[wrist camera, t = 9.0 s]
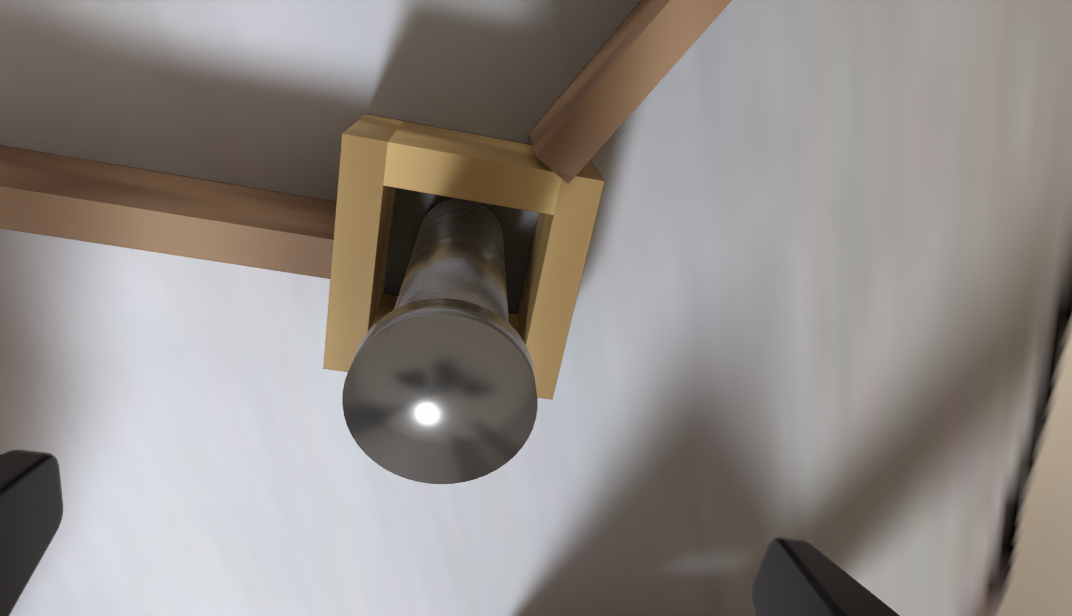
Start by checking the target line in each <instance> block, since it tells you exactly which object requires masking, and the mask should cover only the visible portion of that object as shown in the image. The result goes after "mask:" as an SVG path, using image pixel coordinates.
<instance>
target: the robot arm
mask: <svg viewBox="0 0 1072 616" xmlns="http://www.w3.org/2000/svg"><path fill="white" fill-rule="evenodd" d="M62 515H63V500H62V491H61V481H60V472H59V464H58V460H57V459H56V457H55V456H54V455H52V454H50V453H46V452H37V451H28V450H12V451H10V452H7V453H4V454H2V455H0V616H9V615H10V613H11V612H12V610H13V608H14V606H15V604H16V603H17V601H18V599H19V597H20V596H21V594H22V592H23V590H24V588H25V587H26V585H27V583H28V581H29V580H30V578H31V576H32V574H33V572H34V571H35V569H36V567H37V565H38V564H39V562H40V560H41V558H42V557H43V555H44V553H45V551H46V549H47V548H48V546H49V544H50V542H51V541H52V539H53V537H54V535H55V533H56V532H57V530H58V528H59V525H60V523H61V519H62ZM752 598H753V604H754V608H755V613H756V616H899V615H898V614H897V613H896V612H894V611H893V610H892V609H891V608H890V607H888V606H887V605H886V604H885V603H883V602H882V601H881V600H880V599H878V598H877V597H876V596H875V595H873V594H872V593H871V592H870V591H868V590H867V589H866V588H865V587H863V586H862V585H861V584H860V583H858V582H857V581H856V580H855V579H853V578H852V577H851V576H850V575H848V574H847V573H846V572H845V571H843V570H842V569H841V568H840V567H838V566H837V565H836V564H835V563H833V562H832V561H831V560H830V559H828V558H827V557H826V556H825V555H823V554H822V553H821V552H820V551H818V550H817V549H816V548H815V547H813V546H812V545H811V544H810V543H808V542H807V541H805V540H802V539H794V538H786V537H777V538H775V539H773V540H772V541H771V542H770V544H769V546H768V548H767V551H766V553H765V555H764V558H763V560H762V562H761V565H760V567H759V569H758V572H757V574H756V576H755V578H754V582H753V586H752Z"/></svg>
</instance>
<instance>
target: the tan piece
mask: <svg viewBox="0 0 1072 616" xmlns="http://www.w3.org/2000/svg"><path fill="white" fill-rule="evenodd" d="M731 1H732V0H641V2H640V3H639V4H638V5H637V6H636V8H635V9H634V10H633V11H632V12H631V14H630V15H629V16H628V17H627V18H626V19H625V21H624V22H623V23H622V24H621V25H620V27H619V28H618V29H617V30H616V31H615V32H614V34H613V35H612V36H611V37H610V38H609V40H608V41H607V42H606V43H605V44H604V46H603V47H602V48H601V49H600V50H599V51H598V53H597V54H596V55H595V56H594V57H593V59H592V60H591V61H590V62H589V63H588V64H587V66H586V67H585V68H584V69H583V70H582V72H581V73H580V74H579V75H578V76H577V78H576V79H575V80H574V81H573V82H572V83H571V85H570V86H569V87H568V88H567V89H566V91H565V92H564V93H563V94H562V95H561V96H560V98H559V99H558V100H557V101H556V102H555V104H554V105H553V106H552V107H551V108H550V110H549V111H548V112H547V113H546V114H545V115H544V117H543V118H542V119H541V120H540V121H539V123H538V124H537V125H536V126H535V127H534V128H533V130H532V131H531V132H530V133H529V136H530V139H531V142H532V145H528V144H523V143H517V142H512V141H507V140H501V139H496V138H491V137H485V136H480V135H475V134H469V133H464V132H459V131H453V130H448V129H443V128H437V127H432V126H427V125H421V124H416V123H411V122H405V121H400V120H395V119H389V118H384V117H379V116H373V115H368V114H364V115H363V116H362V117H361V118H360V119H359V120H357V121H356V122H355V123H354V124H353V125H352V126H350V127H349V128H348V129H347V130H346V131H345V132H343V133H342V142H341V155H340V167H339V180H338V192H337V202H332V201H326V200H320V199H314V198H308V197H302V196H296V195H290V194H284V193H278V192H272V191H266V190H260V189H255V188H249V187H243V186H237V185H231V184H225V183H219V182H213V181H207V180H201V179H195V178H189V177H183V176H177V175H172V174H166V173H160V172H154V171H148V170H142V169H136V168H130V167H124V166H118V165H112V164H106V163H100V162H94V161H89V160H83V159H77V158H71V157H65V156H59V155H53V154H47V153H41V152H35V151H29V150H23V149H17V148H11V147H6V146H0V228H2V229H8V230H15V231H21V232H28V233H34V234H41V235H47V236H54V237H60V238H67V239H73V240H80V241H87V242H93V243H100V244H106V245H113V246H119V247H126V248H132V249H139V250H145V251H152V252H158V253H165V254H171V255H178V256H184V257H191V258H197V259H204V260H210V261H217V262H224V263H230V264H237V265H243V266H250V267H256V268H263V269H269V270H276V271H282V272H289V273H295V274H302V275H308V276H315V277H321V278H328V279H331V280H330V292H329V305H328V317H327V330H326V342H325V355H324V367H323V369H330V370H337V371H344V372H348V371H349V369H350V366H351V363H352V361H353V358H354V356H355V353H356V351H357V348H358V346H359V344H360V342H361V340H362V339H363V337H364V336H365V335H366V333H367V332H368V330H369V329H370V328H371V327H372V326H373V325H374V324H375V323H376V322H377V321H378V320H380V319H381V318H382V317H384V316H385V315H386V314H388V313H390V312H391V311H393V310H394V308H395V305H396V302H397V299H398V296H396V295H390V294H384V287H385V278H386V269H387V261H388V252H389V243H390V234H391V226H392V217H393V208H394V200H395V191H396V188H401V189H407V190H412V191H418V192H424V193H430V194H435V195H441V196H447V197H453V198H458V199H464V200H470V201H476V202H481V203H487V204H493V205H499V206H504V207H510V208H516V209H522V210H528V211H533V212H539V213H538V218H537V223H536V228H535V233H534V238H533V243H532V248H531V253H530V258H529V263H528V268H527V273H526V277H525V282H524V287H523V292H522V297H521V302H520V307H519V312H518V314H515V313H508V321H509V324H510V325H511V326H512V327H513V328H514V329H515V330H516V332H517V333H518V334H519V335H520V337H521V338H522V340H523V341H524V343H525V344H526V347H527V349H528V351H529V353H530V356H531V359H532V362H533V368H534V375H535V383H536V391H537V398H544V399H551V400H552V399H553V395H554V391H555V387H556V382H557V378H558V374H559V370H560V366H561V361H562V357H563V353H564V349H565V345H566V340H567V336H568V332H569V328H570V324H571V319H572V315H573V311H574V307H575V303H576V298H577V294H578V290H579V286H580V282H581V278H582V273H583V269H584V265H585V261H586V257H587V252H588V248H589V244H590V240H591V236H592V231H593V227H594V223H595V219H596V215H597V210H598V206H599V202H600V198H601V194H602V189H603V185H604V180H603V179H602V177H601V175H600V174H599V172H598V171H597V169H596V168H595V166H594V165H593V163H592V162H591V160H590V159H591V158H592V157H593V156H594V155H595V154H596V153H597V152H598V150H599V149H600V148H601V147H602V146H603V145H604V144H605V143H606V141H607V140H608V139H609V138H610V137H611V136H612V135H613V134H614V132H615V131H616V130H617V129H618V128H619V127H620V126H621V125H622V123H623V122H624V121H625V120H626V119H627V118H628V117H629V115H630V114H631V113H632V112H633V111H634V110H635V109H636V108H637V106H638V105H639V104H640V103H641V102H642V101H643V100H644V99H645V97H646V96H647V95H648V94H649V93H650V92H651V91H652V90H653V88H654V87H655V86H656V85H657V84H658V83H659V82H660V81H661V79H662V78H663V77H664V76H665V75H666V74H667V73H668V72H669V70H670V69H671V68H672V67H673V66H674V65H675V64H676V63H677V61H678V60H679V59H680V58H681V57H682V56H683V55H684V53H685V52H686V51H687V50H688V49H689V48H690V47H691V46H692V44H693V43H694V42H695V41H696V40H697V39H698V38H699V37H700V35H701V34H702V33H703V32H704V31H705V30H706V29H707V28H708V26H709V25H710V24H711V23H712V22H713V21H714V20H715V19H716V17H717V16H718V15H719V14H720V13H721V12H722V11H723V10H724V8H725V7H726V6H727V5H728V4H729V3H730V2H731Z"/></svg>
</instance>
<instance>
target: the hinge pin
mask: <svg viewBox="0 0 1072 616" xmlns="http://www.w3.org/2000/svg"><path fill="white" fill-rule="evenodd" d="M343 410H344V416H345V420H346V423H347V426H348V428H349V430H350V432H351V435H352V436H353V438H354V439H355V441H356V443H357V444H358V445H359V447H360V448H361V449H362V450H363V451H364V452H365V454H367V455H368V456H369V457H370V458H371V459H372V460H373V461H374V462H376V463H377V464H379V465H380V466H382V467H383V468H385V469H386V470H388V471H390V472H392V473H394V474H396V475H399V476H401V477H404V478H407V479H410V480H414V481H418V482H424V483H432V484H453V483H460V482H465V481H469V480H473V479H477V478H479V477H482V476H484V475H487V474H489V473H491V472H493V471H495V470H497V469H498V468H500V467H501V466H503V465H504V464H505V463H507V462H508V461H509V460H510V459H511V458H513V457H514V456H515V455H516V454H517V452H518V451H519V450H520V449H521V448H522V447H523V445H524V444H525V442H526V441H527V439H528V437H529V435H530V433H531V431H532V429H533V426H534V422H535V419H536V413H537V391H536V383H535V375H534V368H533V362H532V359H531V356H530V353H529V351H528V349H527V347H526V344H525V343H524V341H523V340H522V338H521V337H520V335H519V334H518V333H517V332H516V330H515V329H514V328H513V327H512V326H511V325H510V324H509V321H508V305H507V289H506V273H505V257H504V241H503V232H502V228H501V225H500V223H499V221H498V219H497V217H496V216H495V215H494V213H493V212H492V211H491V210H490V209H489V208H487V207H486V206H484V205H483V204H481V203H479V202H476V201H470V200H464V199H458V198H455V199H450V200H446V201H443V202H441V203H439V204H438V205H436V206H435V207H433V208H432V209H431V210H430V211H429V212H428V213H427V214H426V216H425V217H424V219H423V221H422V223H421V226H420V229H419V232H418V235H417V239H416V242H415V245H414V248H413V251H412V254H411V258H410V261H409V264H408V267H407V270H406V273H405V277H404V280H403V283H402V286H401V289H400V293H399V296H398V299H397V302H396V305H395V308H394V310H393V311H391V312H390V313H388V314H386V315H385V316H384V317H382V318H381V319H380V320H378V321H377V322H376V323H375V324H374V325H373V326H372V327H371V328H370V329H369V330H368V332H367V333H366V335H365V336H364V337H363V339H362V340H361V342H360V344H359V346H358V348H357V351H356V353H355V356H354V358H353V361H352V363H351V366H350V369H349V371H348V374H347V377H346V380H345V383H344V389H343Z"/></svg>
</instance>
